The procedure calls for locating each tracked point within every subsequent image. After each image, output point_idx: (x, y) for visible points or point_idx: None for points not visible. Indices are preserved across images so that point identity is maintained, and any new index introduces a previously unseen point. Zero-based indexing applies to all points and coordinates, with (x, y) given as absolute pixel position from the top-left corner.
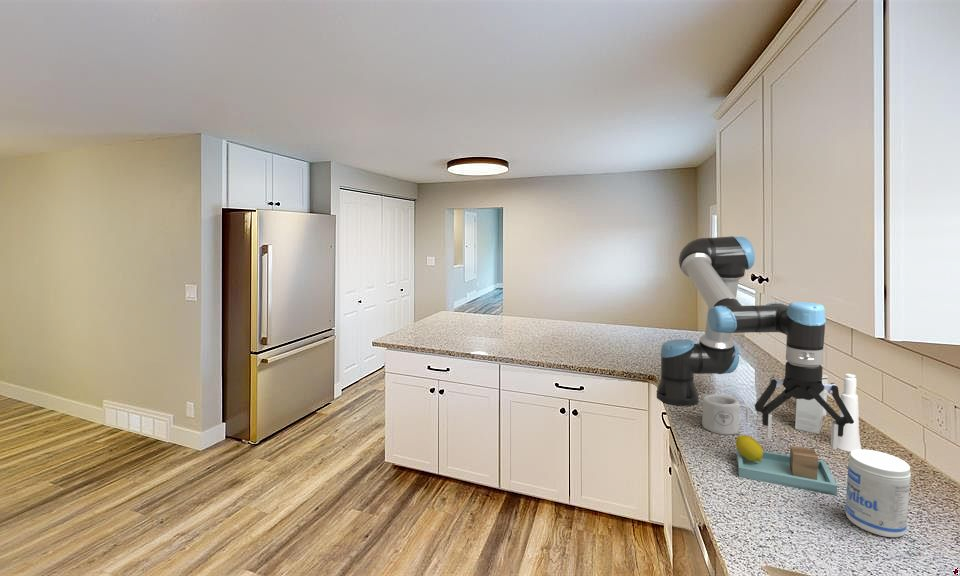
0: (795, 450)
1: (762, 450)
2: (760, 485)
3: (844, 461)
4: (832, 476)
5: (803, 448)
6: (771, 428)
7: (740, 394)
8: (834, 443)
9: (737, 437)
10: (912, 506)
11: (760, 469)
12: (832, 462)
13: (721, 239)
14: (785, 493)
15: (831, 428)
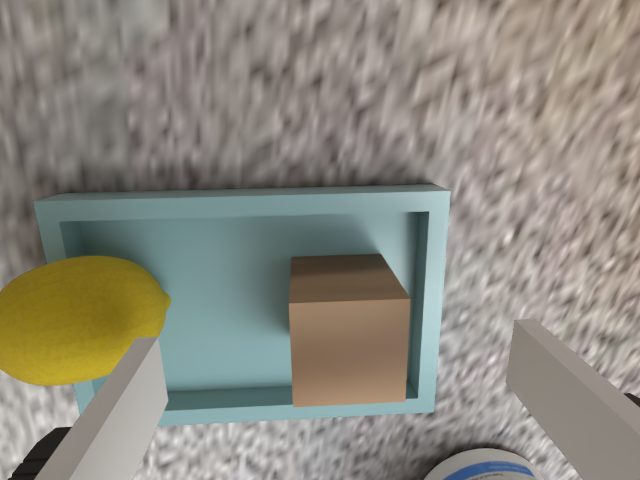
0: (309, 358)
1: (152, 333)
2: (182, 426)
3: (553, 31)
4: (438, 343)
5: (356, 313)
6: (136, 471)
7: None
8: (534, 411)
9: None
10: (631, 349)
11: (174, 335)
12: (493, 73)
13: None
14: (261, 442)
15: (603, 407)
